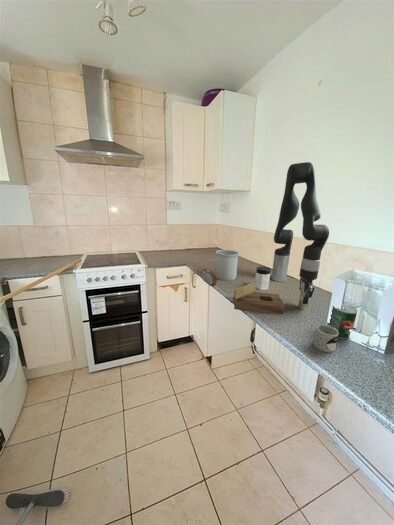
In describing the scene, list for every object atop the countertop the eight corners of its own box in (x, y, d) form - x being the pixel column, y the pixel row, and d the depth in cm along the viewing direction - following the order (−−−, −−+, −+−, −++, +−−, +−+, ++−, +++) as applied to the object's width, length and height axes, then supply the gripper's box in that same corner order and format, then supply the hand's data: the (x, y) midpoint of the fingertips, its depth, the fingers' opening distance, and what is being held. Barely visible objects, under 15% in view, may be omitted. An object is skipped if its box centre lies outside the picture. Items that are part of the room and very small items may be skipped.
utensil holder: (215, 280, 139) (217, 254, 134) (213, 273, 153) (214, 249, 148) (238, 281, 139) (240, 254, 134) (234, 273, 153) (236, 249, 149)
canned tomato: (330, 325, 91) (335, 301, 88) (352, 333, 86) (359, 308, 83) (325, 333, 85) (330, 307, 82) (348, 342, 80) (355, 315, 77)
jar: (257, 290, 126) (259, 270, 122) (251, 285, 133) (253, 266, 130) (271, 289, 127) (274, 270, 124) (265, 284, 135) (267, 266, 131)
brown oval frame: (216, 287, 128) (217, 273, 126) (212, 288, 127) (212, 274, 125) (204, 279, 141) (205, 266, 139) (200, 279, 140) (201, 267, 138)
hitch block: (234, 297, 116) (234, 290, 115) (277, 301, 112) (278, 294, 111) (234, 309, 102) (234, 301, 101) (282, 314, 99) (284, 306, 98)
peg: (297, 305, 108) (300, 283, 105) (305, 306, 107) (309, 283, 104) (299, 309, 104) (303, 286, 101) (308, 310, 104) (312, 286, 100)
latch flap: (236, 291, 113) (235, 289, 113) (254, 283, 110) (253, 282, 110) (236, 300, 102) (235, 298, 102) (256, 291, 100) (255, 290, 100)
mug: (329, 355, 73) (332, 338, 71) (309, 344, 78) (312, 328, 76) (342, 345, 78) (346, 329, 76) (323, 335, 84) (327, 320, 82)
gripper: (296, 263, 108) (291, 295, 112) (305, 272, 94) (299, 307, 99) (312, 264, 106) (307, 296, 111) (324, 273, 93) (317, 309, 98)
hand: (303, 301), depth 105 cm, fingers closed on peg, 4 cm apart
